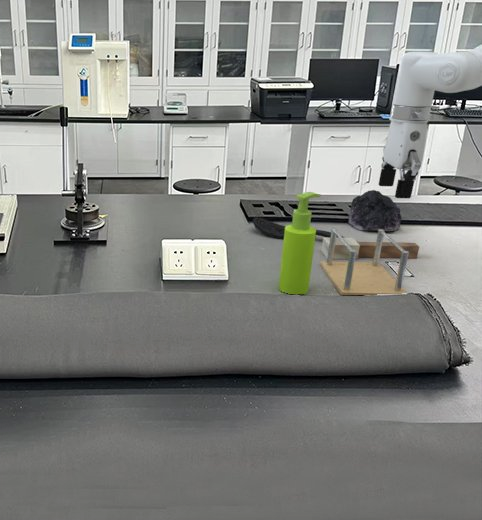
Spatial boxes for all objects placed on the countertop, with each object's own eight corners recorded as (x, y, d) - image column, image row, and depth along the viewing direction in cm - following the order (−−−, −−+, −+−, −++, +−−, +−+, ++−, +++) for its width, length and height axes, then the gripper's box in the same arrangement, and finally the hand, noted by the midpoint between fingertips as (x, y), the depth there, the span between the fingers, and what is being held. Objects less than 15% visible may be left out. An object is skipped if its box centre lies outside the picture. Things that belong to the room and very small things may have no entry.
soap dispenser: (317, 289, 109) (330, 194, 101) (295, 298, 105) (307, 200, 97) (294, 279, 113) (305, 188, 105) (272, 287, 109) (282, 193, 102)
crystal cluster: (394, 240, 137) (406, 202, 133) (341, 226, 143) (350, 190, 139) (400, 229, 148) (411, 194, 144) (350, 217, 154) (359, 183, 150)
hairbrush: (350, 239, 127) (249, 219, 138) (347, 253, 129) (247, 232, 139) (355, 229, 134) (258, 210, 144) (352, 243, 135) (256, 223, 146)
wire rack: (378, 265, 120) (385, 227, 116) (407, 297, 105) (417, 254, 102) (320, 264, 121) (325, 226, 117) (341, 296, 106) (348, 253, 102)
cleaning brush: (410, 252, 127) (413, 238, 126) (419, 260, 123) (422, 246, 121) (321, 250, 128) (323, 237, 127) (326, 258, 124) (329, 244, 122)
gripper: (447, 120, 105) (428, 203, 112) (410, 108, 121) (395, 182, 128) (408, 119, 105) (391, 202, 112) (377, 108, 121) (363, 181, 128)
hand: (393, 191), depth 120 cm, fingers open, 9 cm apart
